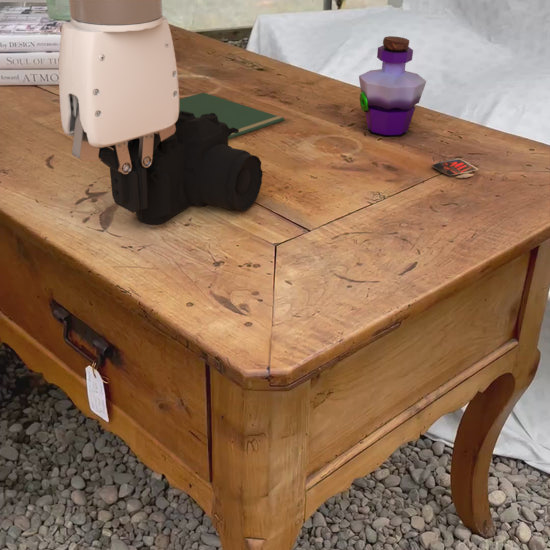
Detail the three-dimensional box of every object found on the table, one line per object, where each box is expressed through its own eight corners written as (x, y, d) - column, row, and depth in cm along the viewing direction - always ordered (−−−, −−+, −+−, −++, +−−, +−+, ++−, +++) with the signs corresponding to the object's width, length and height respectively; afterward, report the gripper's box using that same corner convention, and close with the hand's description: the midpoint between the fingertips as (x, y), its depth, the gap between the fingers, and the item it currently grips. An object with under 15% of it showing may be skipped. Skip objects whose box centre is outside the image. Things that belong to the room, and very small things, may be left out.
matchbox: (427, 168, 91) (428, 164, 91) (455, 158, 94) (456, 155, 94) (459, 181, 88) (459, 177, 88) (486, 171, 91) (487, 167, 91)
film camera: (204, 244, 74) (202, 154, 69) (123, 219, 78) (116, 134, 73) (281, 189, 85) (284, 109, 81) (207, 170, 89) (206, 94, 85)
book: (185, 154, 94) (185, 151, 93) (103, 122, 103) (103, 119, 103) (284, 120, 105) (284, 118, 105) (203, 94, 114) (203, 92, 114)
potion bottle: (341, 125, 104) (347, 34, 98) (390, 115, 108) (399, 27, 102) (383, 145, 98) (393, 49, 92) (433, 134, 102) (446, 41, 96)
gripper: (158, -13, 71) (167, 173, 80) (10, 8, 62) (39, 217, 71) (213, 0, 67) (216, 195, 76) (64, 25, 57) (87, 245, 66)
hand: (131, 205), depth 73 cm, fingers closed
